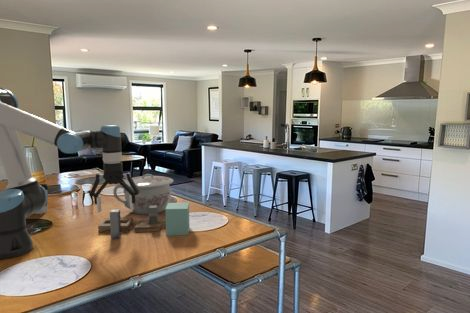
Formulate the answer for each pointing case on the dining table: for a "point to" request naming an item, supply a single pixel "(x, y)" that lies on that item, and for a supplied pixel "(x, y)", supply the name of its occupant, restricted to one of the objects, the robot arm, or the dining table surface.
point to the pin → (115, 224)
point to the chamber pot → (147, 193)
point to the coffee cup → (44, 209)
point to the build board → (125, 225)
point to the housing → (177, 219)
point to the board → (148, 227)
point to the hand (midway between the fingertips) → (115, 211)
